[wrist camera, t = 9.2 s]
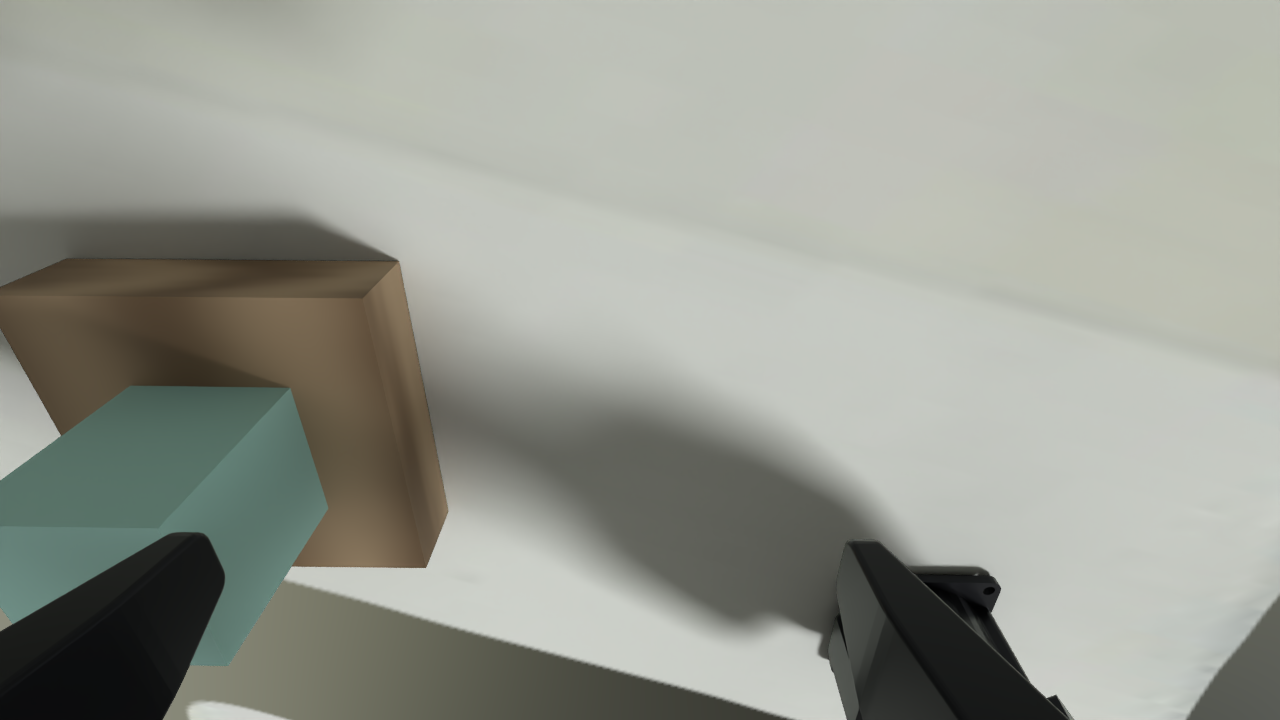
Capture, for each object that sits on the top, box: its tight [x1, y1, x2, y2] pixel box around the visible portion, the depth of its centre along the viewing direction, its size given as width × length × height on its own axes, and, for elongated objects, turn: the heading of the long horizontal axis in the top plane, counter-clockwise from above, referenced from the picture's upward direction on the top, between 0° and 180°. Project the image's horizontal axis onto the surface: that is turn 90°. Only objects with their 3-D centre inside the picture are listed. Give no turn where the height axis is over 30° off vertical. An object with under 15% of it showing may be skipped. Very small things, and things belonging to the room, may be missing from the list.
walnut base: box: [0, 259, 448, 568], centre depth 22 cm, size 11×11×3 cm
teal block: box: [0, 386, 328, 666], centre depth 18 cm, size 5×5×6 cm
